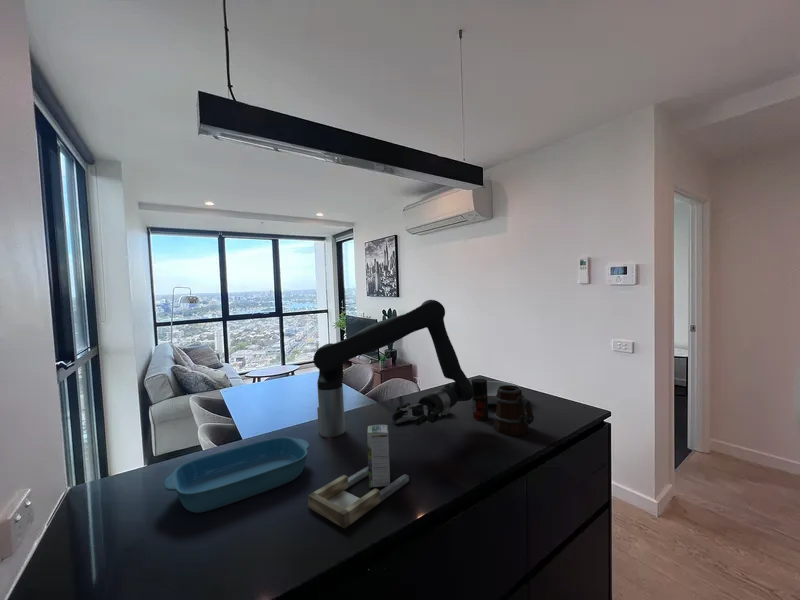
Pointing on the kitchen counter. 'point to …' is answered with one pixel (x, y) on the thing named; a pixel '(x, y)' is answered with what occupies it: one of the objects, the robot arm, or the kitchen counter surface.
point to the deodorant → (480, 399)
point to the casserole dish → (237, 473)
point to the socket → (341, 502)
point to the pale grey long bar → (413, 417)
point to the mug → (512, 411)
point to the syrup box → (378, 456)
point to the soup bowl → (495, 390)
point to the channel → (384, 492)
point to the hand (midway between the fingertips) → (404, 419)
